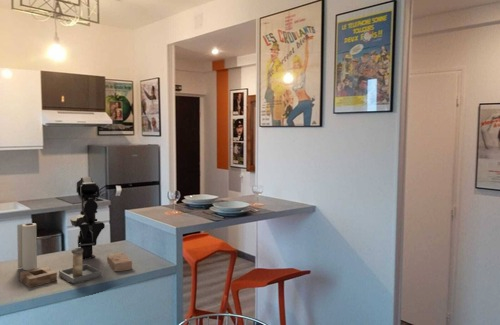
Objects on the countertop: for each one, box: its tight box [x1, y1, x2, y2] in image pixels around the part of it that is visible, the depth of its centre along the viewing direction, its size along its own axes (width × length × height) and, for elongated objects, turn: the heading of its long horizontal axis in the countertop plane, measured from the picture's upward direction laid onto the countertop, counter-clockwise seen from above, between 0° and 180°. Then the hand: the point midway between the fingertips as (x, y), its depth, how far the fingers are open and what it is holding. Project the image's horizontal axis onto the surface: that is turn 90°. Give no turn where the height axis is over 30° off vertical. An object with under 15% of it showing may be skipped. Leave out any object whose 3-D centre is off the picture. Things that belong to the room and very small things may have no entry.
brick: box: [106, 252, 133, 272], centre depth 199 cm, size 16×8×5 cm, turn 33°
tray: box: [58, 263, 102, 285], centre depth 184 cm, size 13×13×2 cm
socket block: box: [19, 266, 58, 288], centre depth 177 cm, size 11×11×4 cm
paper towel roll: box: [16, 222, 38, 271], centre depth 190 cm, size 7×6×21 cm
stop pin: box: [71, 247, 83, 278], centre depth 180 cm, size 5×5×13 cm
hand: (89, 240), depth 195 cm, fingers open, 9 cm apart
